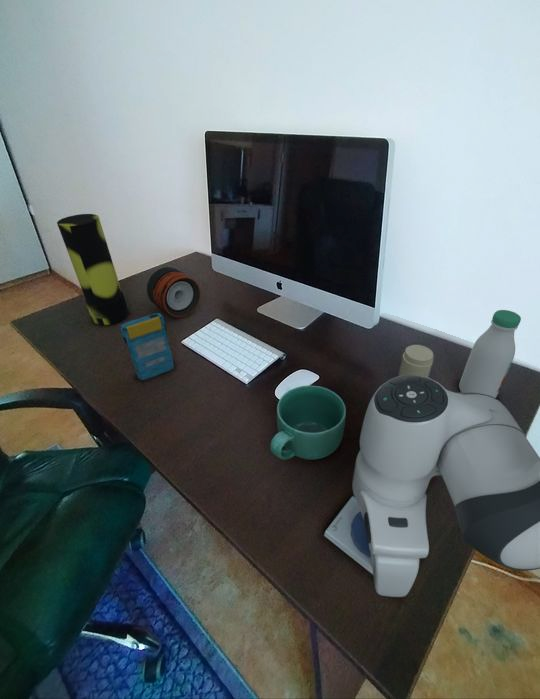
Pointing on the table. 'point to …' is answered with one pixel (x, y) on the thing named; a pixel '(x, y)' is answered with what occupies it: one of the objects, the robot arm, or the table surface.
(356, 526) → the jar lid
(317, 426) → the mug
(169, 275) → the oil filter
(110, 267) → the container
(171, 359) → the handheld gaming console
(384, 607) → the table surface
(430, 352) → the jar
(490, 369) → the milk bottle
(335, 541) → the hard drive
